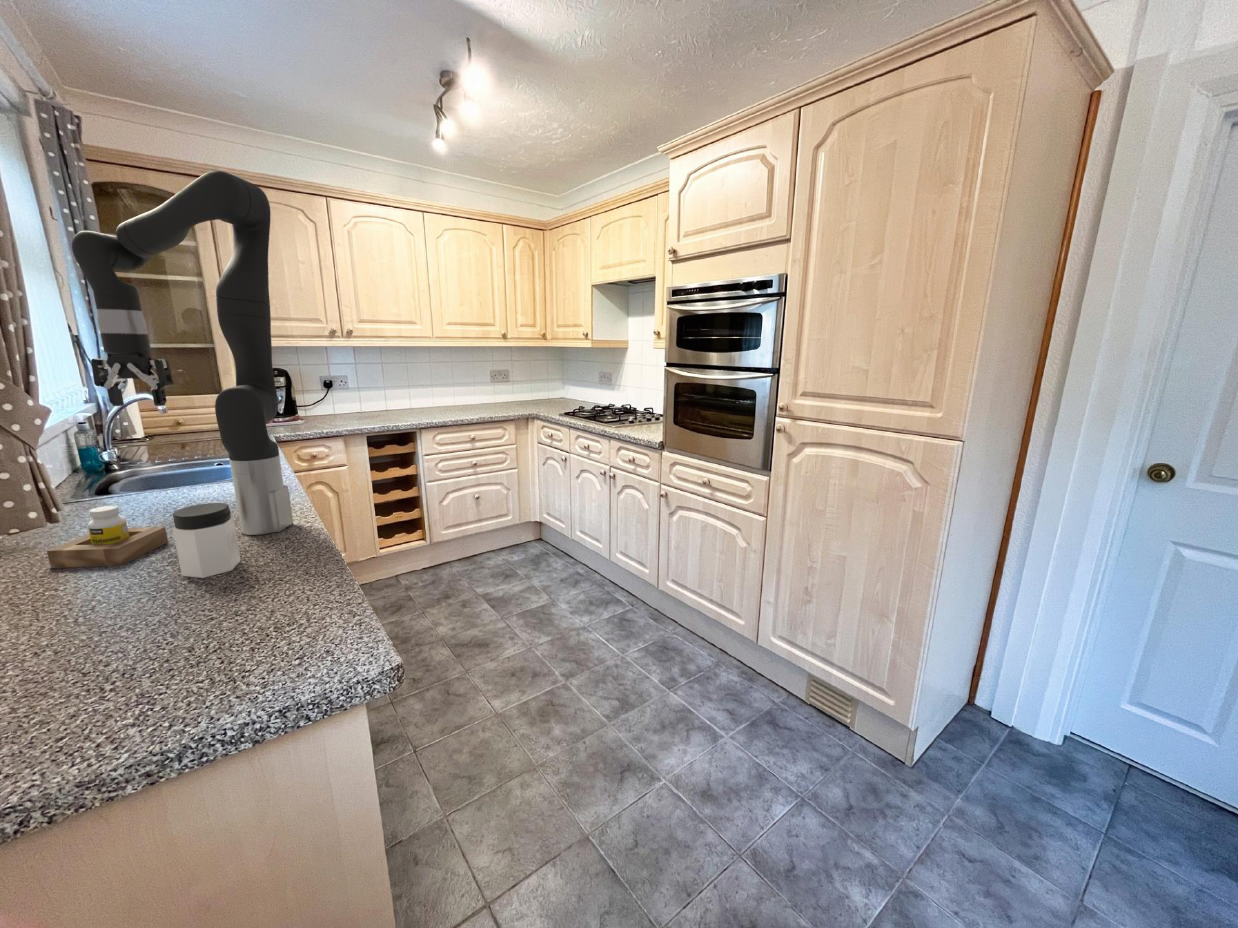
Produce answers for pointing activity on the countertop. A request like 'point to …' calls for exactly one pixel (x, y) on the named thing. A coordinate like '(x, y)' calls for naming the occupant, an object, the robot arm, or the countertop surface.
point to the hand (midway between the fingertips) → (139, 405)
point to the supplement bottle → (107, 526)
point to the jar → (205, 540)
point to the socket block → (107, 549)
